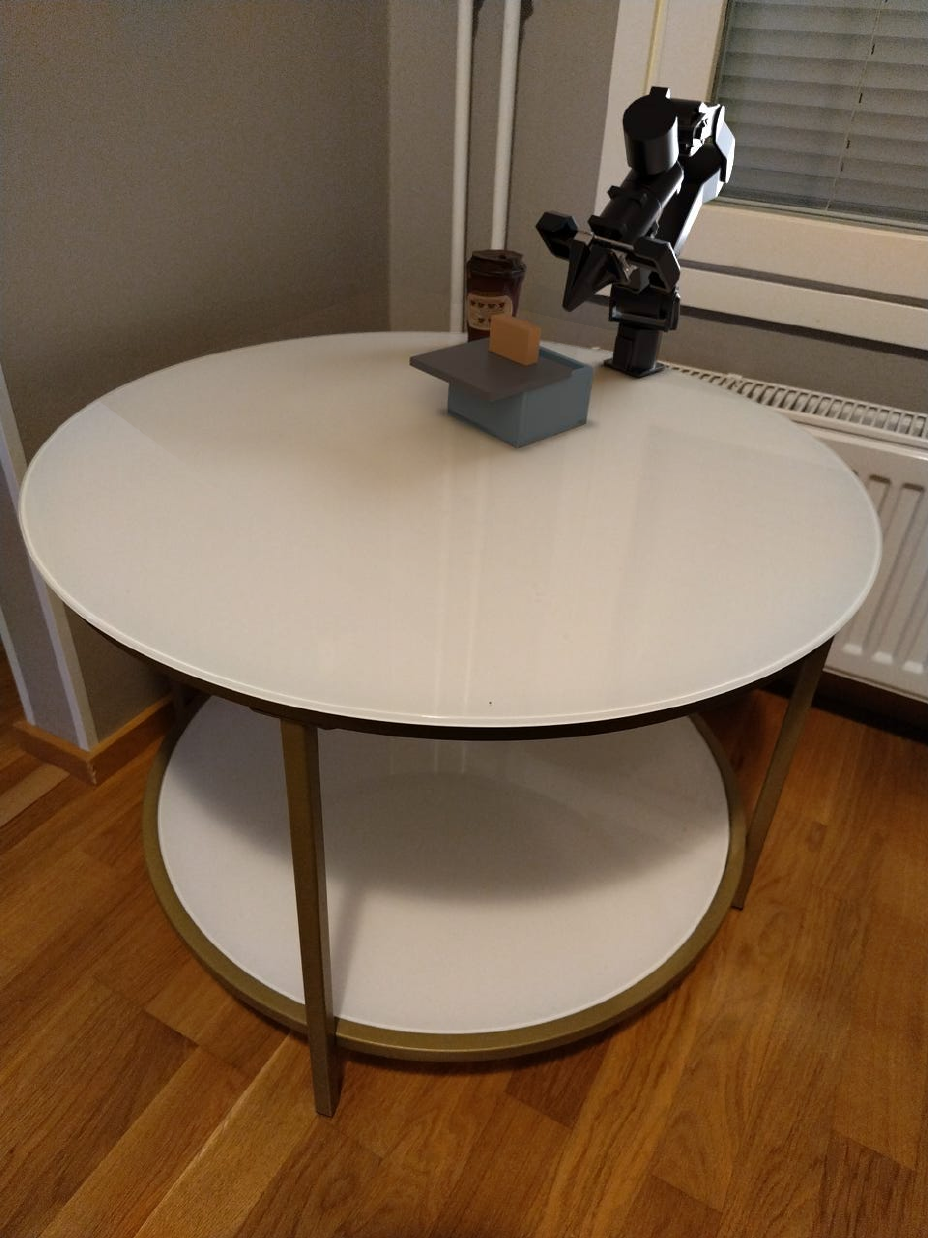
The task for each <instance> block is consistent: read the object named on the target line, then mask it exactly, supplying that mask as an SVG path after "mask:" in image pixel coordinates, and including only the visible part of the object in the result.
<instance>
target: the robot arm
mask: <svg viewBox="0 0 928 1238" xmlns="http://www.w3.org/2000/svg"><path fill="white" fill-rule="evenodd" d="M724 118H725V106H724V105H721V104H720V103H716V102H709V101H708V102H707V101H703V100H698V99H697V100H696V99H686V98H677V97H670V87H666V86H659V85H658V86H656V85H651V87H650V90H649V93H648V94H646V95H645V94H644V95H642V96H640V97H638V98H637V99H635V100H634V101H633V102H631V103H630V104H629V106H628V107H627V108H626V109H625V110H624V111H623V115H622V119H621V122H622V131H623V139H624V147H625V155H626V163H627V166H628V168H631V169H630V170H629V172H628V173H627V175H626V176H625V178H624V179H623V180H622V182H621V184H620V185H619V186H618V185H613V184H611V185H610V187H609V188H608V189H607V191H606V194H607V195H608V198H609V201H608V203H607V204H606V205H605V207H604V209H603V210H602V212H601V213H600V215H596V214H591V215H590V216H589V218H588V220H587V221H586V223H587V224H588V226H589V228H590V229H586V228H583V227H579V225H578V224H577V222H576V220H575V218H574V216H573V215H570V214H567V213H563V212H558V211H555V210H547V211H544V212H543V213H542V215H541V217H540V218H539V219H538V221H537V222H536V224H535V226H534V227H535V229H536V231H537V232H538V234H539V236H540V237H541V239H542V241H543V243H544V244H545V245H546V248H547V249H548V251H549V252H550V254H551V255H552V256H554V258H556V259H560V260H563V261H566V262H568V269H567V275H566V280H565V281H566V282H565V286H564V292H563V299H562V304H561V307H562V309H563V310H564V311H565V312H568V313H572V312H573V311H575V310H576V309H578V308H579V307H580V306H581V305H583V304H584V303H585V302H586V301H588V300H589V299H591V297H593V296H594V295H596V294H597V293H599V292H600V291H602V290H603V289H605V288H607V287H608V286H611V287H610V291H609V301H608V316H607V317H608V318H607V319H608V320H607V321H608V322H610V323H618V327H617V332H616V335H615V339H614V344H613V351H612V356H611V357H610V358H606V359H604V360H603V363H602V364H603V365H604V366H607V367H608V368H609V367H610V368H612V369H615V370H616V371H619V372H622V373H625V374H627V375H631V376H633V377H636V378H641V377H644V376H647V375H651V374H653V373H657V372H659V371H662V370H665V369H666V364H664V363H662V362H659V361H658V358H659V353H660V347H661V342H662V338H663V333H666V334H667V333H669V332H670V331H677V330H678V326H679V320H680V315H681V296H680V290H679V288H680V287H679V285H678V284H677V283H678V282H679V281H680V277H681V267H680V263H679V262H678V260H679V257H680V255H681V253H682V250H683V248H684V245H685V243H686V241H687V238H688V236H689V234H690V231H691V229H692V226H693V225H694V222H695V220H696V218H697V215H698V213H699V211H700V208H701V206H702V205H704V204H706V203H708V202H710V201H712V200H714V199H715V198H717V197H718V195H719V193H720V191H721V190H722V187H723V185H724V183H725V184H727V183H728V182H729V179H730V176H731V172H732V168H733V163H734V156H735V155H734V154H735V143H736V139H735V136H734V135H733V133H732V132H731V130H730V128H729V127H728V125H727V124H726V122H725V119H724ZM707 138H710V139H712V140H711V141H712V143H709V142H705V140H706V139H707ZM657 219H658V220H657Z"/></svg>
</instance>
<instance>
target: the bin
mask: <svg viewBox="0 0 928 1238" xmlns="http://www.w3.org/2000/svg"><path fill="white" fill-rule="evenodd" d="M538 355H539V356H542V357H544V358H547V359H549V360H552V361H554V362H557V363H559V364H562V365H564V366H567V367H569V368H572V375H571V377H570V378H566V379H563V380H560V381H557V382H553V383H550V384H547V385H544V386H541V387H537V388H534V389H531V390H528V391H524V392H521V393H518V394H515V395H511V396H508V397H505V398H502V399H499V400H495V401H492V402H488V401H486V400H483V399H481V398H479V397H477V396H475V395H473V394H470V393H468V392H466V391H464V390H462V389H460V388H457V387H455V386H453V385H451V384H449V383H448V385H447V387H448V388H447V404H446V405H447V407H446V414H447V415H450V416H451V417H454V418H455V419H458V420H460V421H462V422H463V423H466V424H467V425H469V426H472V427H474V428H476V429H478V430H480V431H482V432H484V433H486V434H489V435H490V436H492V437H494V438H497V440H500V441H502V442H505V443H506V444H508V445H511V446H512V447H515V448H516V449H519V448H522V447H525V446H527V445H531V444H533V443H536V442H538V441H541V440H545V439H547V438H550V437H552V436H555V435H558V434H560V433H564V432H566V431H569V430H571V429H574V428H577V427H580V426H583V425H586V424H587V419H588V412H589V406H590V399H591V393H592V387H593V380H594V374H595V367H594V366H592V365H590V364H588V363H585V362H582V361H579V360H577V359H575V358H572V357H569V356H567V355H564V354H561V353H559V352H557V351H554V350H551V349H549V348H546V347H545V346H541V345H539V354H538Z"/></svg>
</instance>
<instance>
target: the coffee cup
mask: <svg viewBox="0 0 928 1238" xmlns="http://www.w3.org/2000/svg"><path fill="white" fill-rule="evenodd" d="M523 257H524V254H523V253H520V252H517V251H515V250H509V249H502V248H501V249H491V248H488V249H480V250H477V249H476V250H473V251H471V256H470V257H469V259H468V260H467V261H466V263H465V303H466V331H467V341H466V343H468V342H472V341H476V340H480V339H484V338H488V337H490V328H491V316H494V315H498V314H503V313H504V314H507V315H509V316H512V317H515V318H518V317H517V316H518V312H519V309H520V308H519V307H520V297H521V292H522V286H523V285H522V284H523V281H524V280H525V276H526V274H527V268H528V267H527V264H526V263H525V262H523V260H522V259H523Z"/></svg>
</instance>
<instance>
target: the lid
mask: <svg viewBox="0 0 928 1238" xmlns="http://www.w3.org/2000/svg"><path fill="white" fill-rule="evenodd" d="M541 333H542V327H541V326H538V325H536V324H533V323H531V322H528V321H525V320H522V319H520V318H518V317H516V318H515V317H512V316H509V315H507V314H504V313H503V314H498V315H494V316H491V328H490V337H488V338H484V339H480V340H476V341H472V342H468V343H467V342H464V343H460V344H456V345H452V346H447V347H444V348H439V349H436V350H435V349H434V350H432V351H428V352H427V351H426V352H423V353H420V354H416V355H412V356H409V366H410V367H412V368H415V369H416V370H419V371H421V372H423V373H425V374H428V375H430V376H431V377H433V378H436V379H438V380H441V382H445V383H446V384H448V385H449V384H451V385H453V386H455V387H457V388H460V389H462V390H464V391H466V392H468V393H470V394H473V395H475V396H477V397H479V398H481V399H483V400H486V401H488V402H492V401H495V400H499V399H502V398H505V397H508V396H511V395H515V394H518V393H521V392H524V391H528V390H531V389H534V388H537V387H541V386H544V385H547V384H550V383H553V382H557V381H560V380H563V379H566V378H570V377H571V375H572V368H569V367H567V366H564V365H562V364H559V363H557V362H554V361H552V360H549V359H547V358H544V357H542V356H539V355H538V354H539V346H541V344H540V343H541V336H542V335H541Z"/></svg>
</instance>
